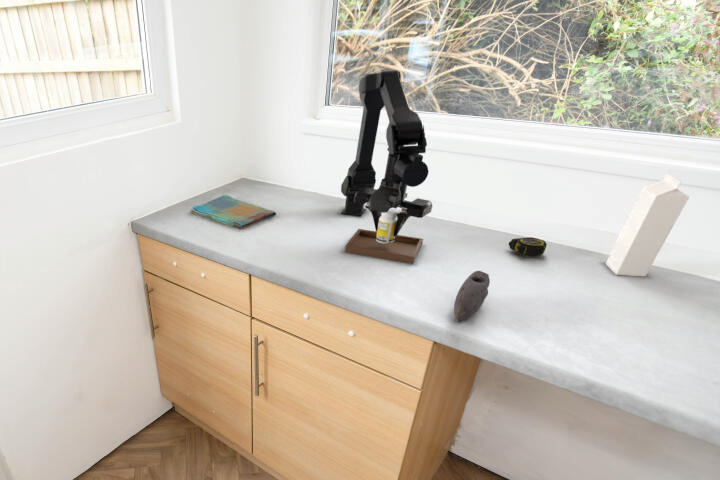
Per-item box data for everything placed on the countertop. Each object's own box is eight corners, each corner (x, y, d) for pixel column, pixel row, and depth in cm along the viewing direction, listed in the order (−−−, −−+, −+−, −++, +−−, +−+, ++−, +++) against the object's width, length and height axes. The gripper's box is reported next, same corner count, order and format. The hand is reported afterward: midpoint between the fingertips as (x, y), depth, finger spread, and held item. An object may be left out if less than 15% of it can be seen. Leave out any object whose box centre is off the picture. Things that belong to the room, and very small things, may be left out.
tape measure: (531, 247, 125) (536, 234, 123) (548, 258, 119) (554, 245, 117) (506, 249, 125) (510, 236, 123) (522, 260, 119) (527, 247, 117)
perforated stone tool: (468, 331, 95) (478, 302, 91) (441, 323, 98) (449, 294, 94) (487, 300, 104) (497, 272, 100) (462, 294, 107) (471, 266, 103)
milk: (615, 275, 111) (663, 181, 98) (605, 263, 116) (649, 172, 103) (646, 276, 110) (698, 181, 97) (634, 265, 115) (682, 173, 102)
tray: (357, 235, 137) (358, 228, 135) (421, 245, 129) (423, 238, 128) (344, 252, 128) (345, 245, 127) (412, 264, 120) (414, 256, 119)
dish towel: (226, 200, 167) (225, 193, 165) (277, 215, 152) (277, 208, 151) (189, 213, 157) (189, 206, 156) (240, 231, 143) (240, 223, 141)
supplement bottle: (392, 237, 129) (397, 207, 124) (395, 244, 125) (402, 213, 120) (373, 237, 129) (379, 207, 124) (377, 244, 125) (382, 213, 121)
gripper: (346, 175, 118) (339, 234, 127) (419, 189, 107) (405, 253, 116) (369, 165, 124) (360, 221, 133) (439, 177, 113) (425, 238, 122)
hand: (386, 233), depth 126 cm, fingers closed on supplement bottle, 5 cm apart
